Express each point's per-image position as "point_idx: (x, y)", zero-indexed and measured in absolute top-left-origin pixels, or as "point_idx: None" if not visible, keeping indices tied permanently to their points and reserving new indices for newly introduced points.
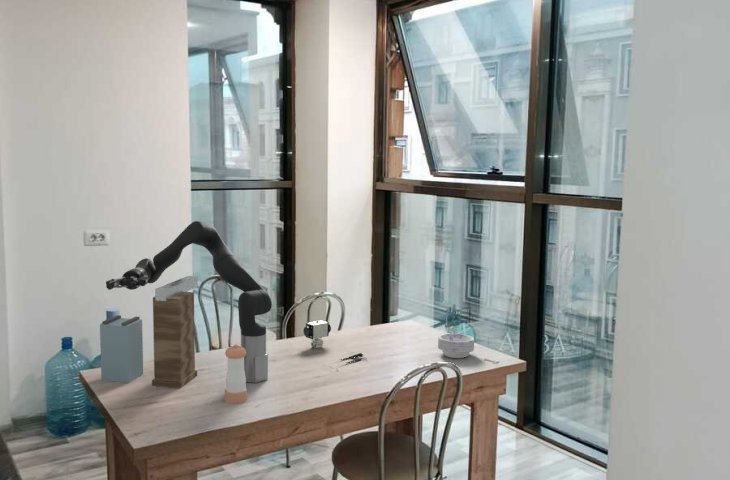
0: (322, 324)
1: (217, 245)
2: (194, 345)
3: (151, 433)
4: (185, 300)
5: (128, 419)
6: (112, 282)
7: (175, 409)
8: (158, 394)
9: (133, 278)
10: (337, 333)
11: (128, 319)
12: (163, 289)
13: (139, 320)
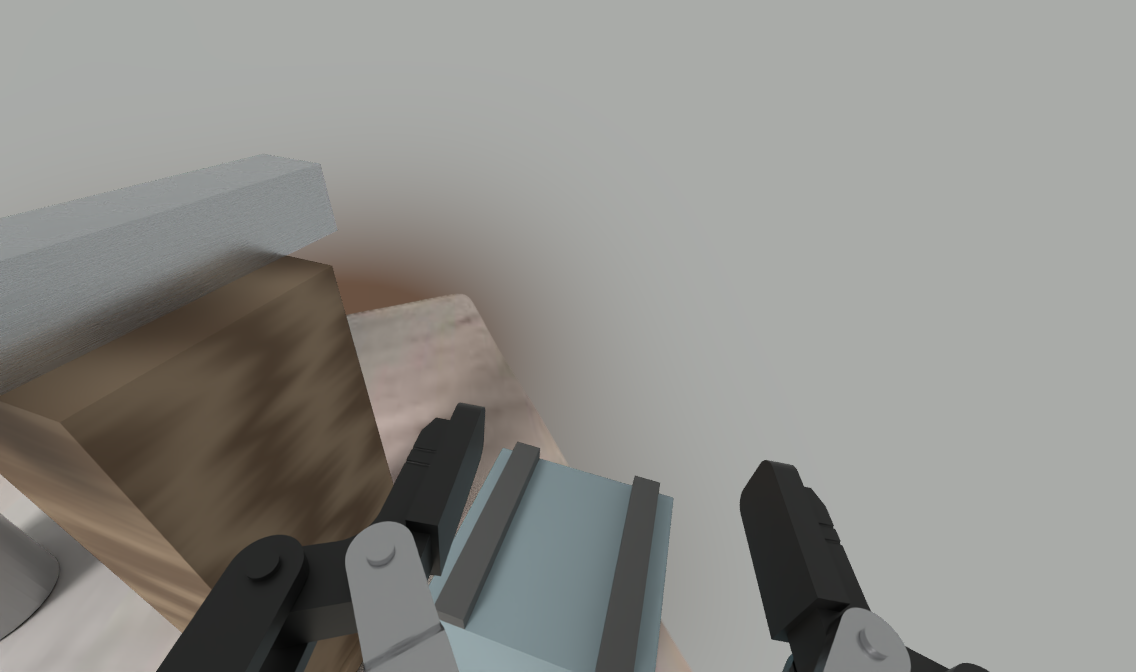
0: None
1: None
2: (144, 597)
3: (443, 318)
4: None
5: (484, 361)
6: (807, 569)
7: (384, 389)
8: None
9: (441, 637)
10: None
11: (522, 618)
12: (275, 156)
13: (436, 578)
